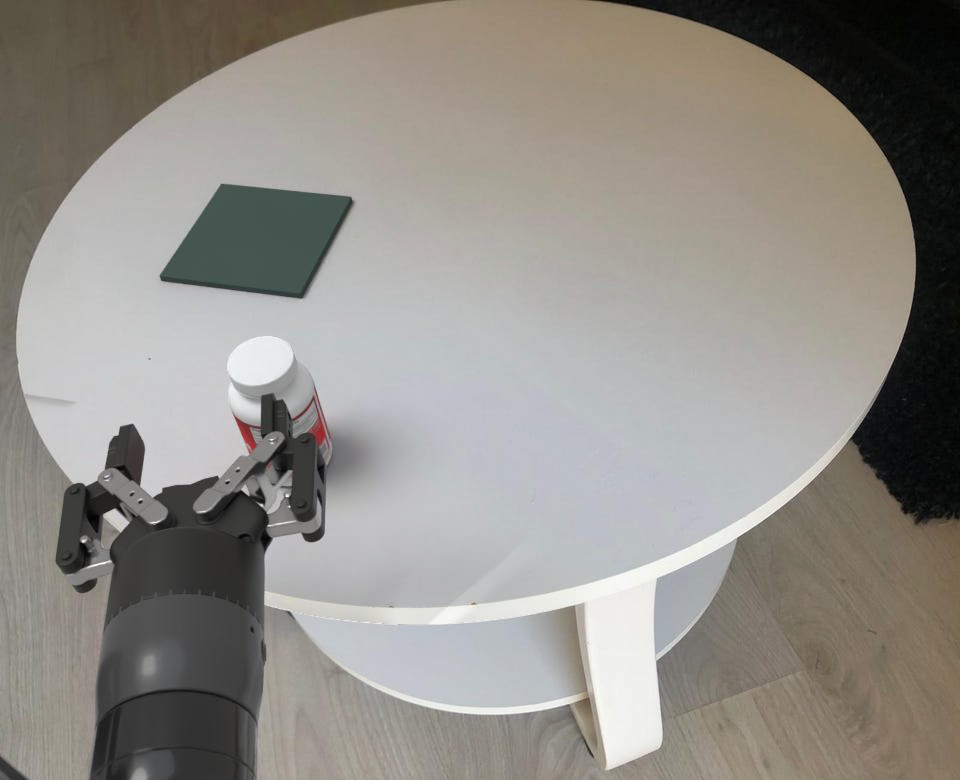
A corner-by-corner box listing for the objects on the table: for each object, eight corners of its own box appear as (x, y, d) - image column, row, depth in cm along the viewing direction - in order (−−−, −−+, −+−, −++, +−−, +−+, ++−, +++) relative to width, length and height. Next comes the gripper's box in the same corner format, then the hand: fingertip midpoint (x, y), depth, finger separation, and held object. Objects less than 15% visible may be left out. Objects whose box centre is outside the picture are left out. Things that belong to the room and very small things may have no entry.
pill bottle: (263, 426, 79) (226, 328, 71) (339, 425, 78) (310, 326, 70) (247, 490, 75) (206, 394, 67) (327, 489, 74) (296, 392, 66)
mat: (161, 280, 92) (158, 275, 91) (222, 188, 101) (221, 183, 100) (301, 298, 89) (300, 293, 88) (352, 201, 97) (351, 196, 97)
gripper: (308, 568, 45) (301, 346, 57) (1, 636, 45) (58, 399, 57) (348, 657, 50) (334, 436, 62) (72, 719, 50) (111, 485, 62)
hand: (202, 419), depth 60 cm, fingers open, 8 cm apart
